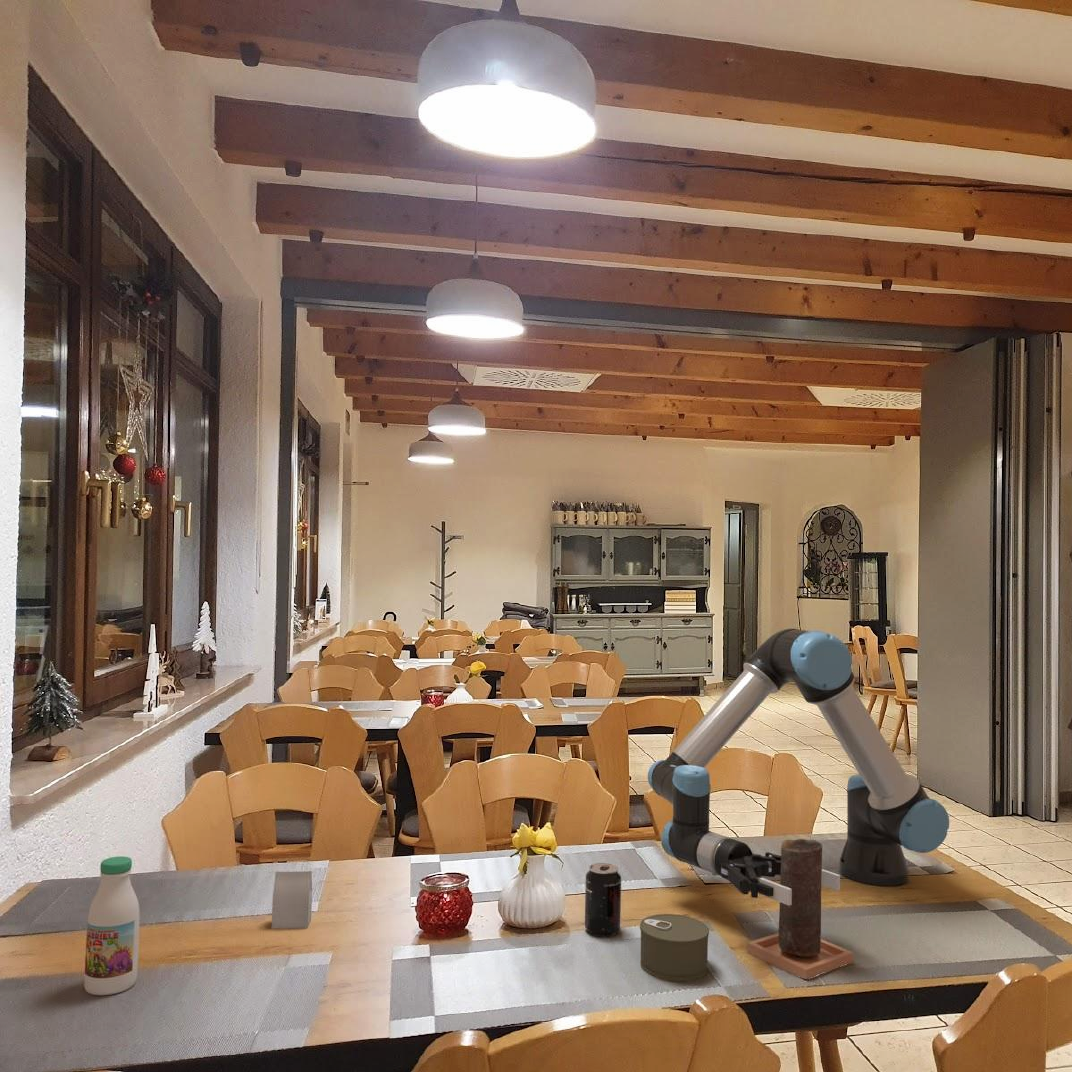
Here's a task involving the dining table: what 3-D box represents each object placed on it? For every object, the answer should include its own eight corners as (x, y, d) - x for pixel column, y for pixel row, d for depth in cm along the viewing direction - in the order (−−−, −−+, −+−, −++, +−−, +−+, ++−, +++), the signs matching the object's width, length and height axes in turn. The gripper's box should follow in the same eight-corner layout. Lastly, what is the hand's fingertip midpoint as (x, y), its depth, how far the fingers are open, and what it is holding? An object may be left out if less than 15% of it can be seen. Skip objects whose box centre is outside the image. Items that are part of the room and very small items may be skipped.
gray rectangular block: (307, 928, 166) (309, 874, 166) (271, 928, 165) (273, 875, 166) (311, 920, 169) (312, 868, 170) (275, 921, 169) (277, 868, 169)
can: (693, 989, 145) (694, 946, 145) (627, 970, 151) (628, 930, 151) (718, 962, 155) (718, 923, 155) (655, 946, 161) (656, 908, 162)
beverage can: (625, 928, 169) (626, 865, 170) (613, 941, 163) (614, 876, 163) (592, 921, 172) (593, 860, 173) (579, 934, 166) (580, 870, 166)
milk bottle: (95, 975, 145) (101, 852, 146) (144, 974, 145) (149, 852, 146) (75, 997, 137) (81, 867, 138) (126, 996, 138) (132, 867, 139)
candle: (823, 965, 153) (824, 849, 154) (779, 960, 155) (781, 846, 156) (818, 947, 161) (819, 837, 162) (776, 943, 162) (778, 834, 163)
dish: (793, 937, 167) (793, 927, 167) (852, 962, 156) (853, 952, 156) (747, 952, 159) (747, 942, 159) (806, 980, 149) (806, 969, 149)
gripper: (767, 865, 180) (857, 898, 163) (679, 888, 166) (768, 926, 148) (767, 828, 180) (857, 857, 163) (680, 847, 166) (768, 881, 149)
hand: (815, 890), depth 156 cm, fingers open, 13 cm apart
